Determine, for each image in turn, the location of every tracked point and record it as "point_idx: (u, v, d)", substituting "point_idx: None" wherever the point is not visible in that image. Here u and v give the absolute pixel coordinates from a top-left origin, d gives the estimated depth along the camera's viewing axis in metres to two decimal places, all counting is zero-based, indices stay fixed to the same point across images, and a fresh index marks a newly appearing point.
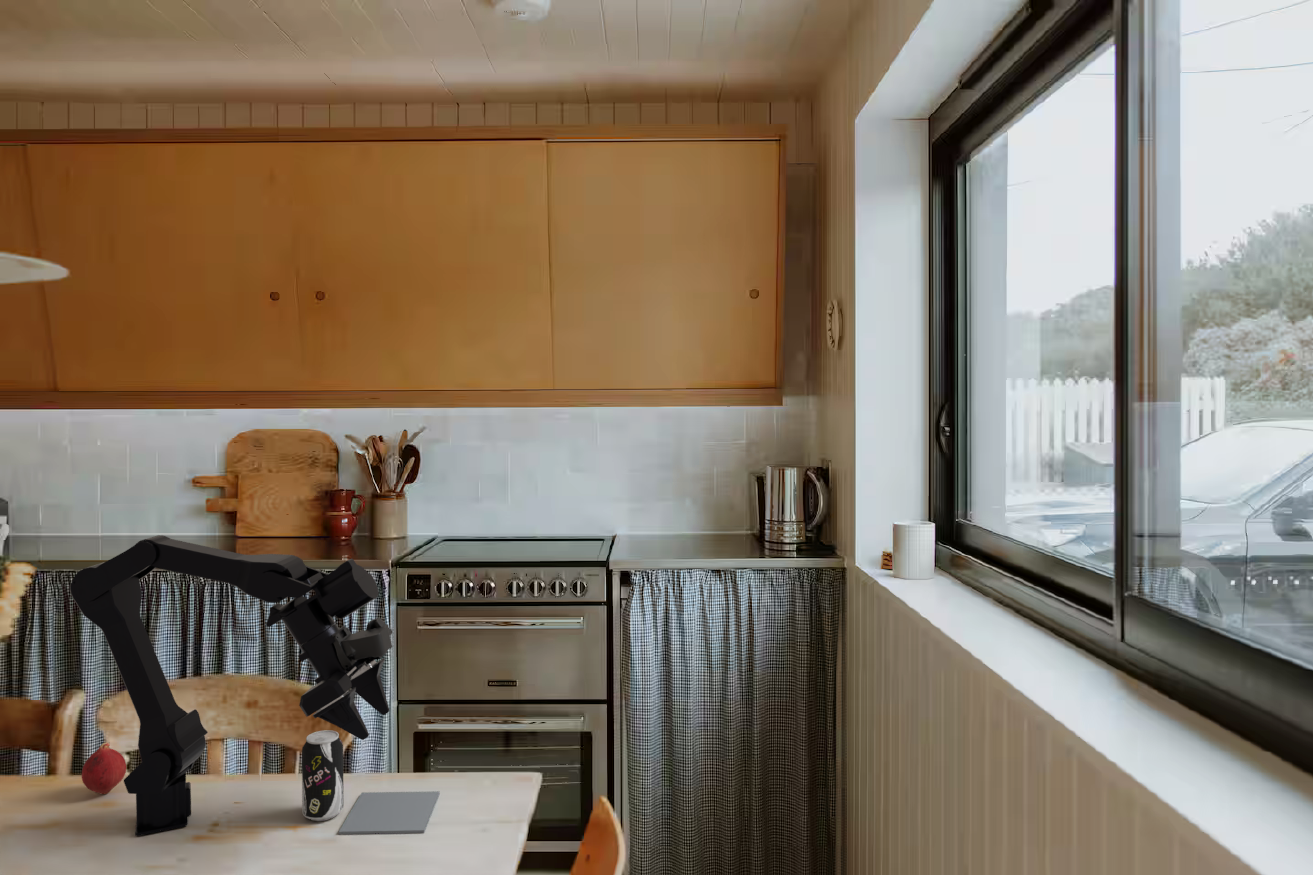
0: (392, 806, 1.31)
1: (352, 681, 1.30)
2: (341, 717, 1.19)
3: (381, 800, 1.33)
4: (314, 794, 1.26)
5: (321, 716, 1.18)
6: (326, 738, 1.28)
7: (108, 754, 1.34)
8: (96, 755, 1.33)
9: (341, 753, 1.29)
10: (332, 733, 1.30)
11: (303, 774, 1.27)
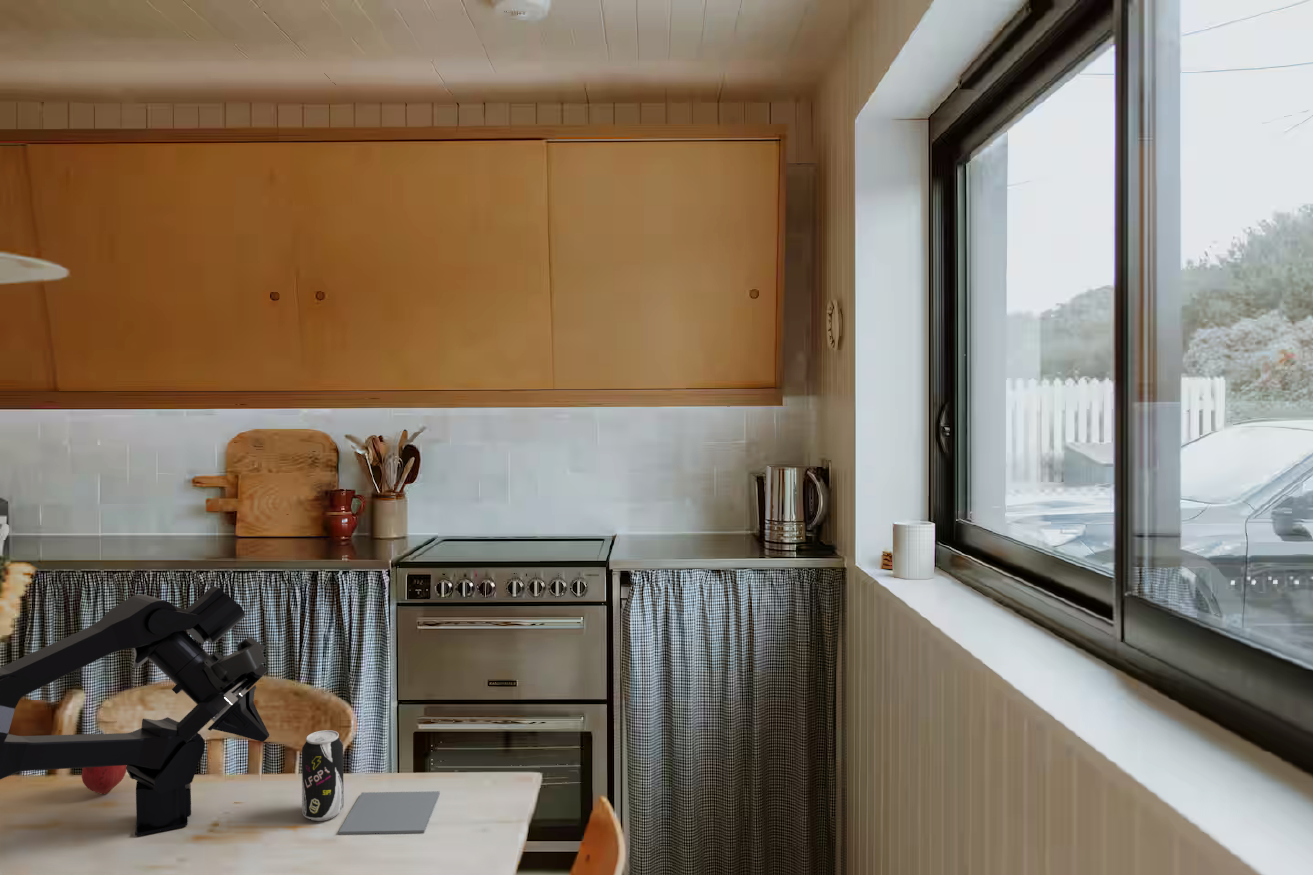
0: (392, 806, 1.31)
1: None
2: (237, 725, 1.26)
3: (381, 800, 1.33)
4: (314, 794, 1.26)
5: (217, 728, 1.25)
6: (326, 738, 1.28)
7: None
8: None
9: (341, 753, 1.29)
10: (332, 733, 1.30)
11: (303, 774, 1.27)
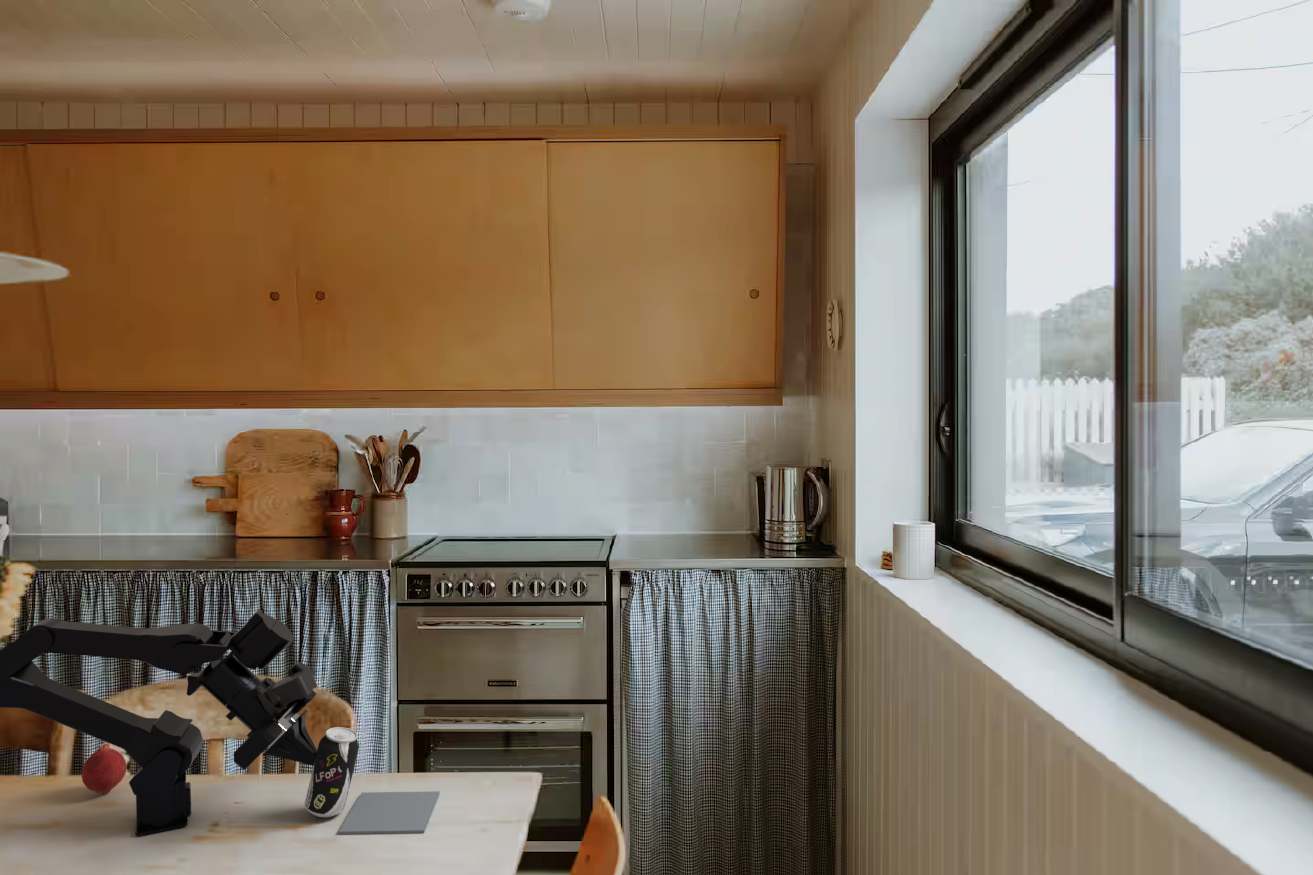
0: (392, 806, 1.31)
1: None
2: (290, 750, 1.27)
3: (381, 800, 1.33)
4: (321, 789, 1.26)
5: (271, 753, 1.26)
6: (345, 737, 1.28)
7: (108, 754, 1.34)
8: (96, 755, 1.33)
9: (356, 754, 1.29)
10: (351, 732, 1.30)
11: (315, 767, 1.27)
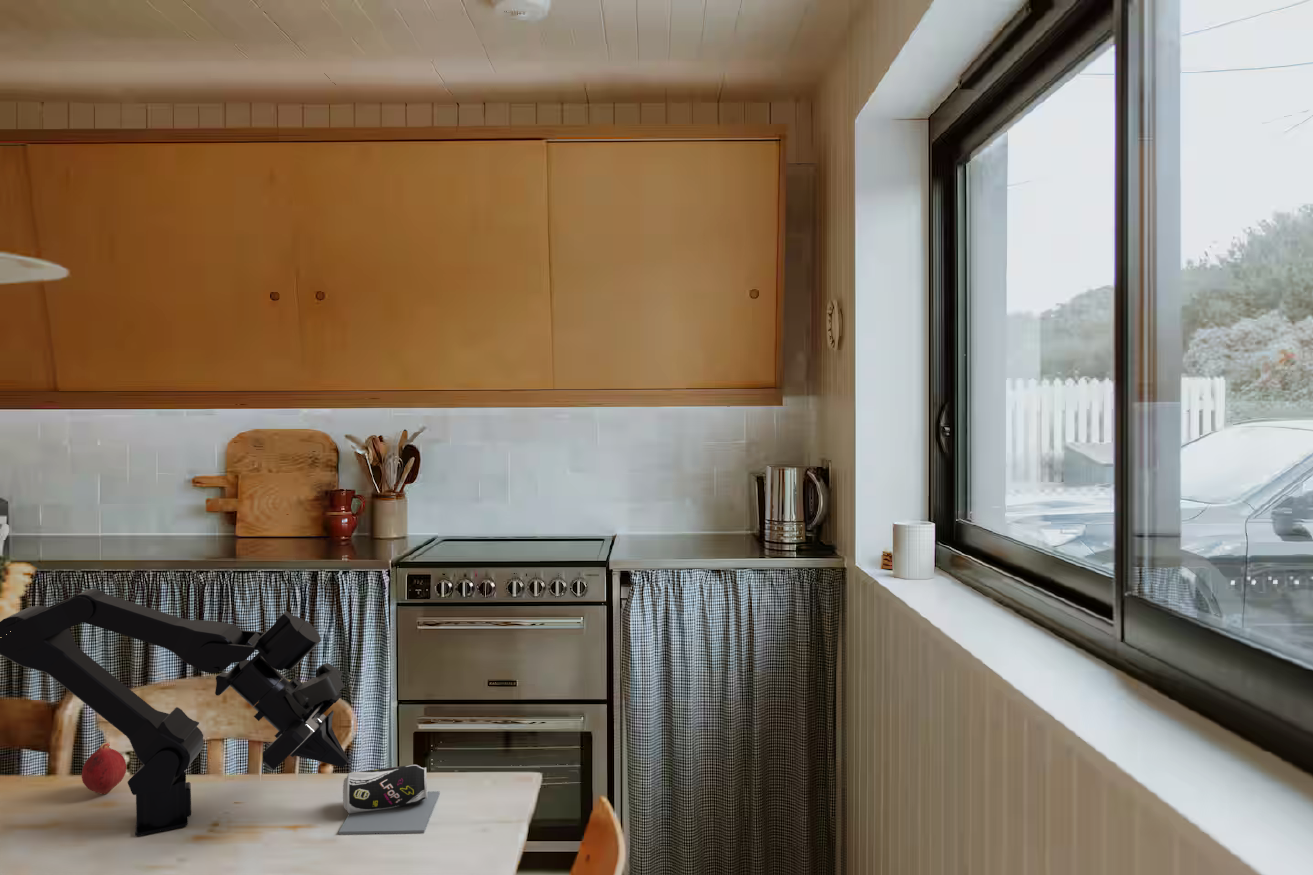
0: None
1: None
2: (317, 751, 1.27)
3: None
4: (374, 792, 1.28)
5: (298, 754, 1.26)
6: None
7: (108, 754, 1.34)
8: (96, 755, 1.33)
9: None
10: None
11: (391, 775, 1.30)
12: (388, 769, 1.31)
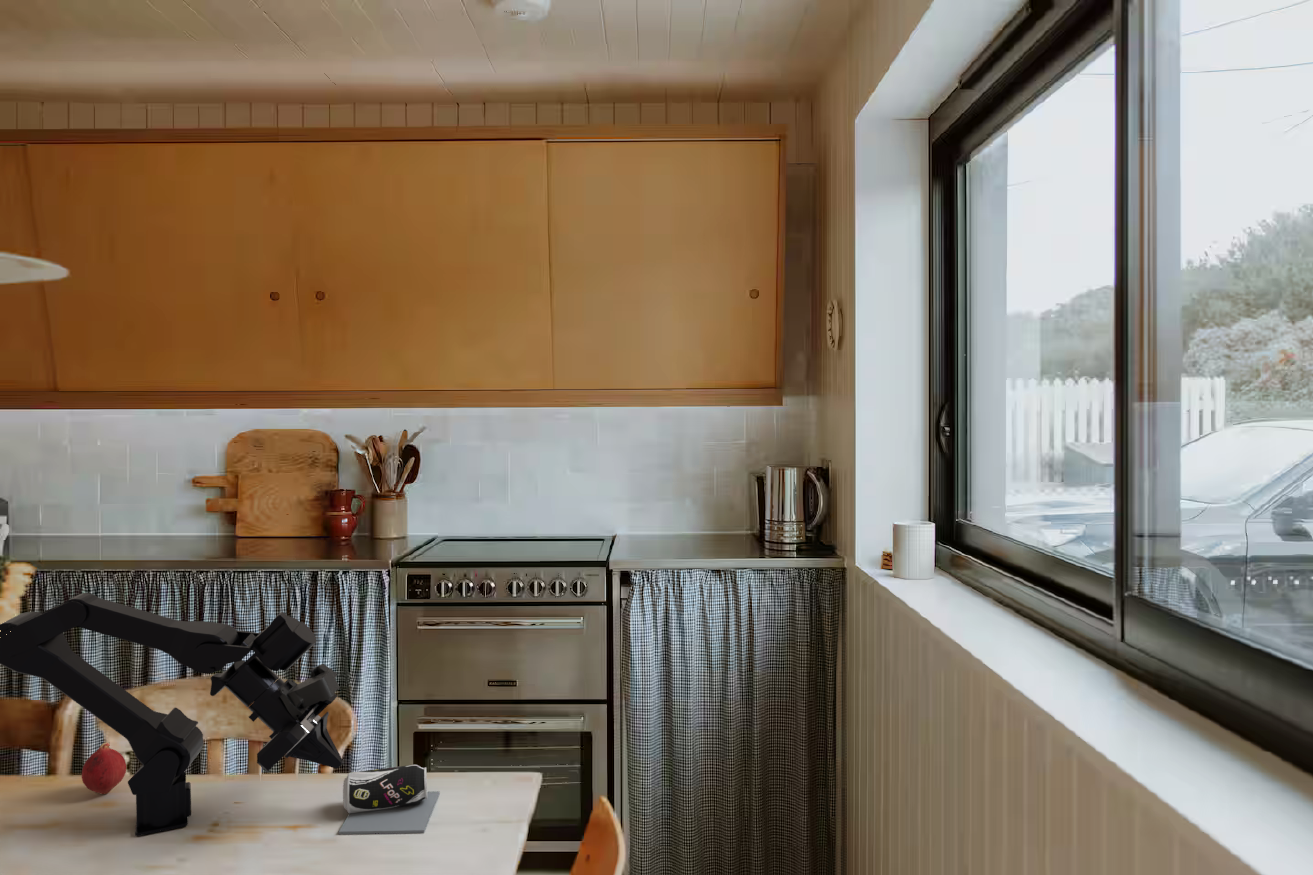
0: None
1: None
2: (312, 752, 1.27)
3: None
4: (374, 792, 1.28)
5: (293, 755, 1.26)
6: None
7: (108, 754, 1.34)
8: (96, 755, 1.33)
9: None
10: None
11: (391, 775, 1.30)
12: (388, 769, 1.31)
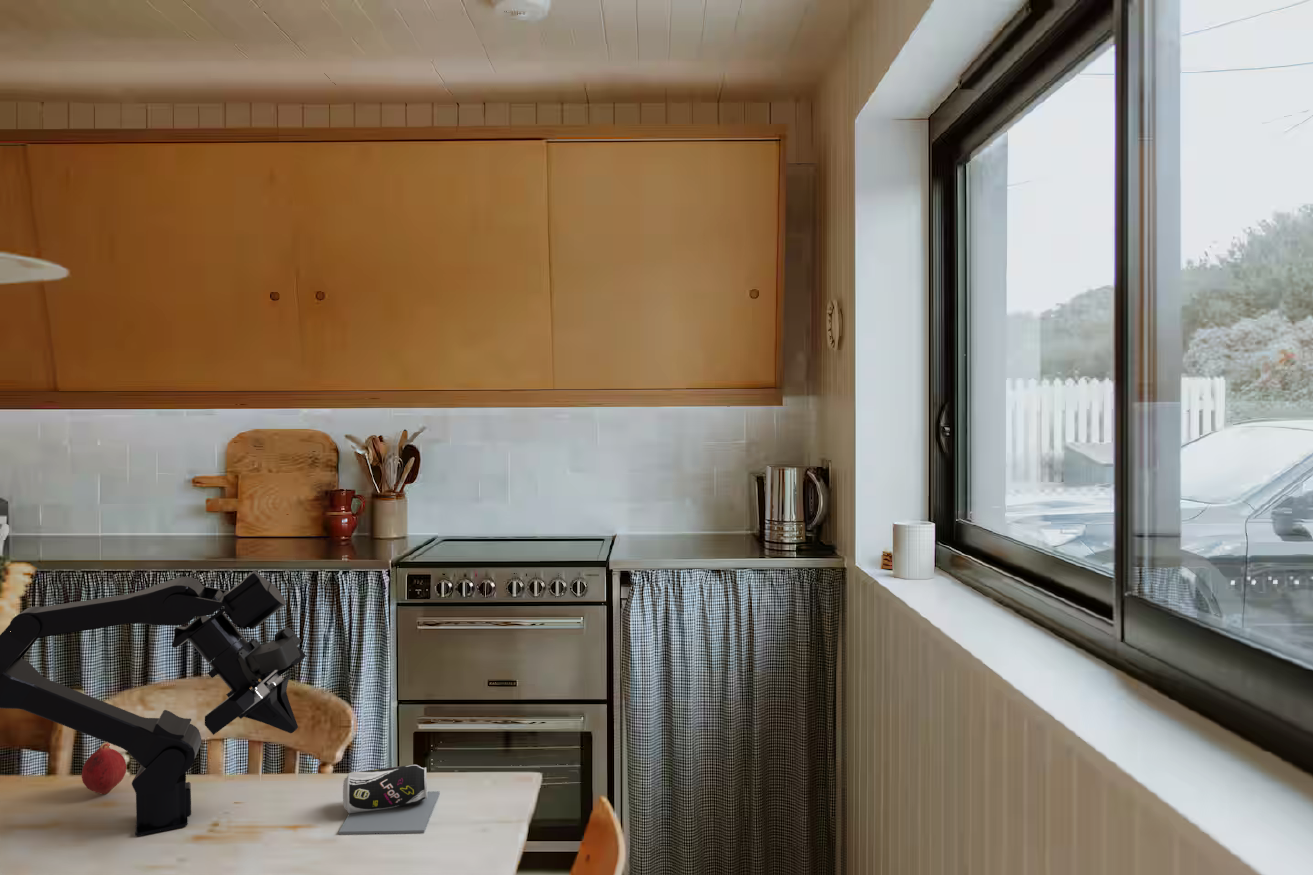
0: None
1: None
2: (267, 715, 1.27)
3: None
4: (374, 792, 1.28)
5: (247, 716, 1.26)
6: None
7: (108, 754, 1.34)
8: (97, 755, 1.33)
9: None
10: None
11: (391, 775, 1.30)
12: (388, 769, 1.31)
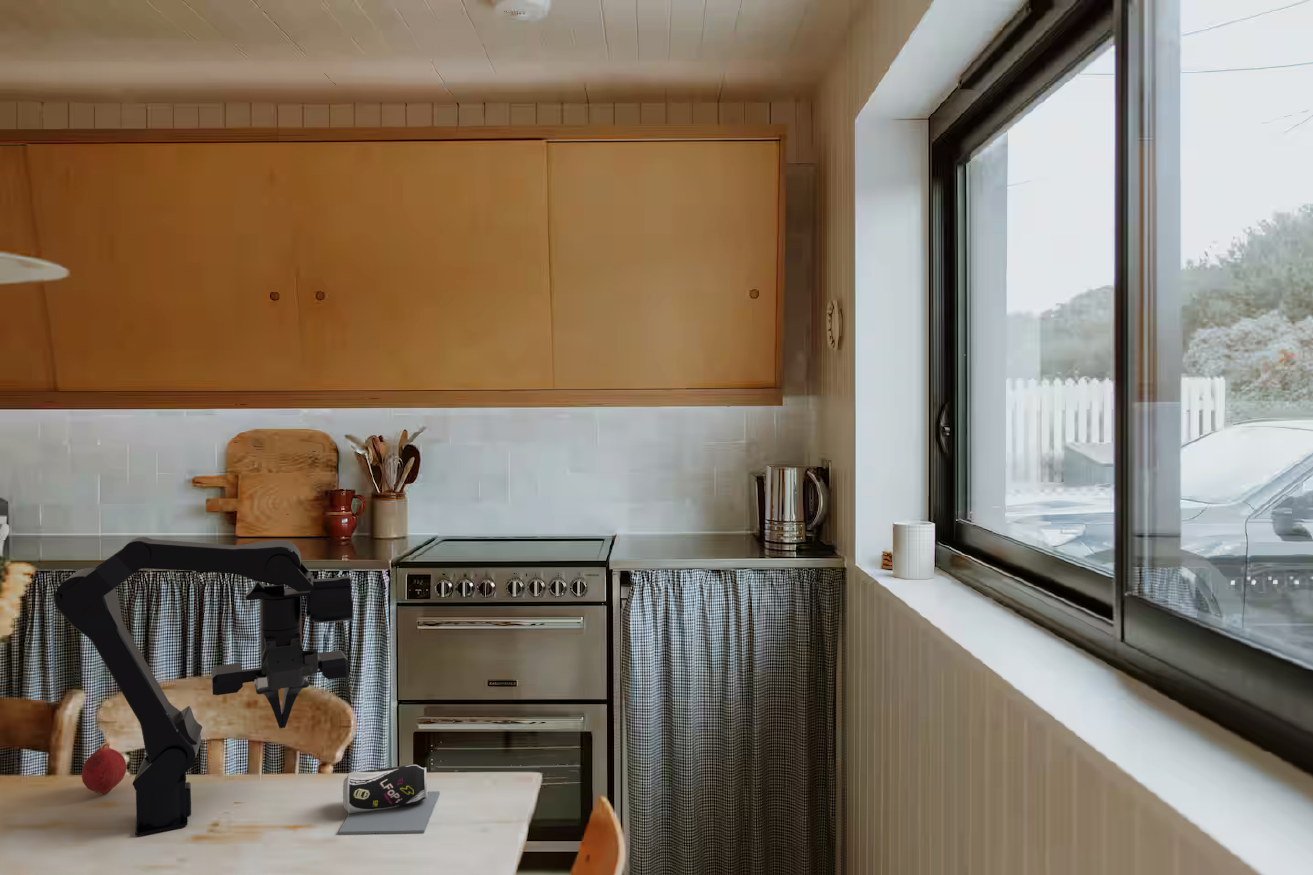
0: None
1: None
2: None
3: None
4: (374, 792, 1.28)
5: None
6: None
7: (108, 754, 1.34)
8: (97, 755, 1.33)
9: None
10: None
11: (391, 775, 1.30)
12: (388, 769, 1.31)
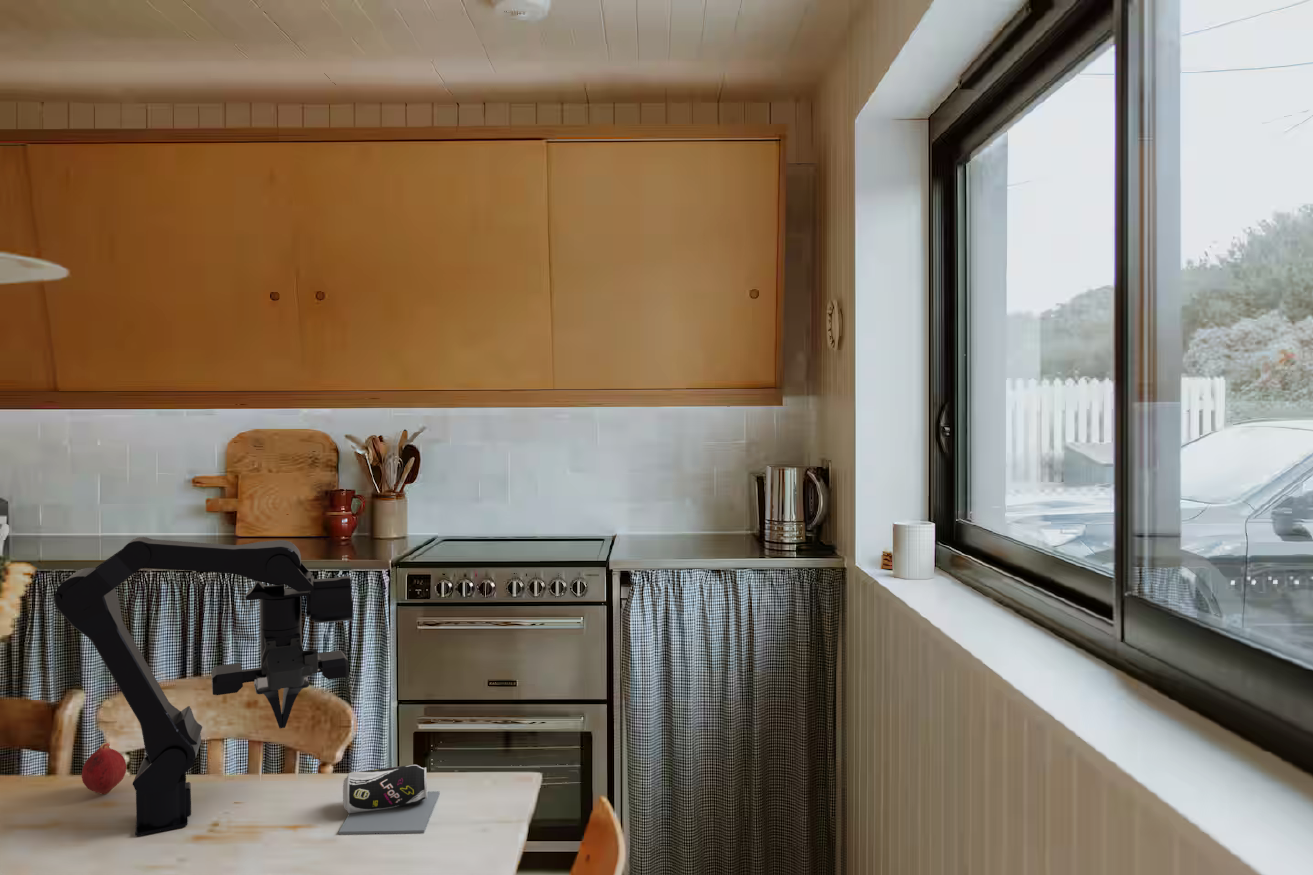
0: None
1: None
2: None
3: None
4: (374, 792, 1.28)
5: None
6: None
7: (108, 754, 1.34)
8: (97, 755, 1.33)
9: None
10: None
11: (391, 775, 1.30)
12: (388, 769, 1.31)
